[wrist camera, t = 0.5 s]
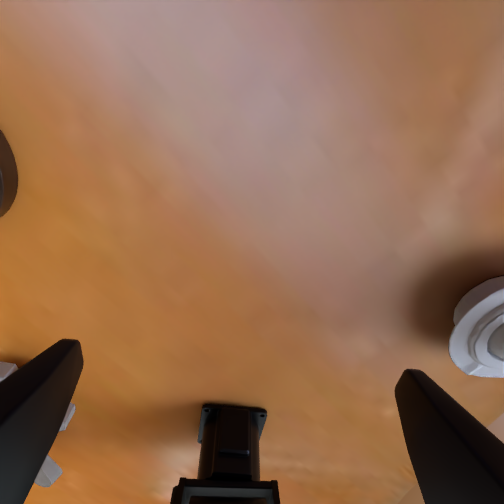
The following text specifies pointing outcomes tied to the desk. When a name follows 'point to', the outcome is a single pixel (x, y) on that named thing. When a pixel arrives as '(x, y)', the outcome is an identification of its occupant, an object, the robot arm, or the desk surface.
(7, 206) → the stack
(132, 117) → the desk surface
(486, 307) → the white stemmed stand
